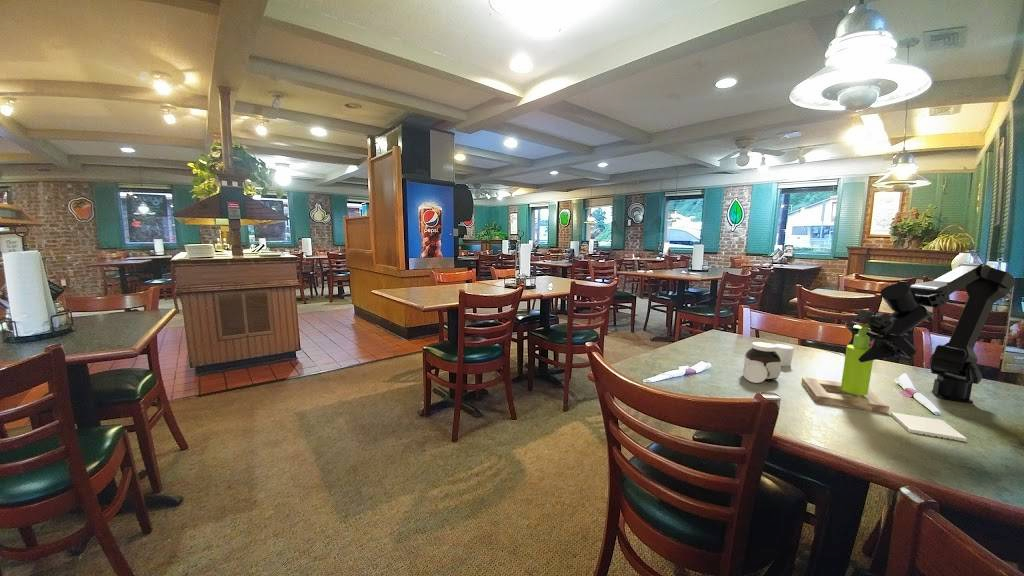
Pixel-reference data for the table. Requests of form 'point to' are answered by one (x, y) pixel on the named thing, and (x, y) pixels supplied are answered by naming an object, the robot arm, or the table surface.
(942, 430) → the pad
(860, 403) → the plate
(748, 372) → the spread jar
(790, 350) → the white cup
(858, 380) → the soap dispenser
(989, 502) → the table surface
